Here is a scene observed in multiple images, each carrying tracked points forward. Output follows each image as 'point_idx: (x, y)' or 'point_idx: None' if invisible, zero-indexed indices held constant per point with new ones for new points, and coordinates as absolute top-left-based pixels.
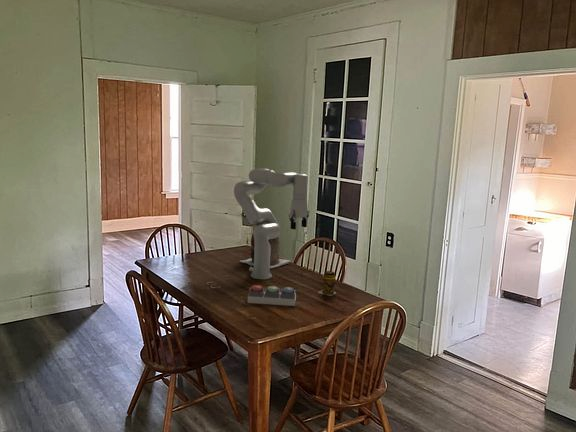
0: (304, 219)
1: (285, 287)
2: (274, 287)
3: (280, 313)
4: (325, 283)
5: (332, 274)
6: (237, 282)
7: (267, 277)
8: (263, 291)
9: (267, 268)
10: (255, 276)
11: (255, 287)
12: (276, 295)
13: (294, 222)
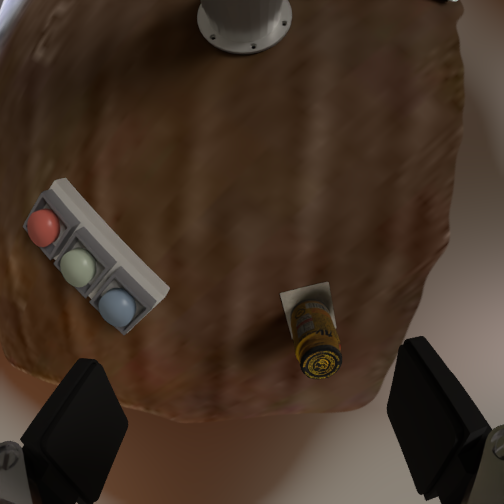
0: (447, 484)
1: (112, 296)
2: (80, 271)
3: (76, 329)
4: (293, 338)
5: (313, 377)
6: (117, 34)
7: (236, 51)
8: (53, 253)
9: (243, 28)
10: (202, 19)
11: (33, 232)
12: (83, 288)
13: (68, 489)
